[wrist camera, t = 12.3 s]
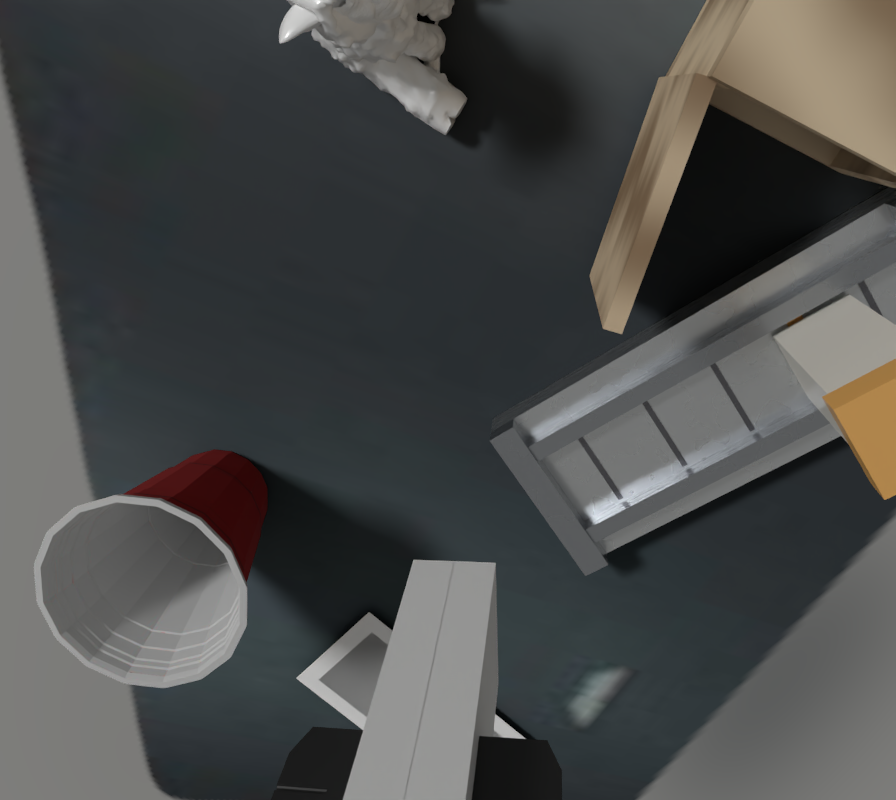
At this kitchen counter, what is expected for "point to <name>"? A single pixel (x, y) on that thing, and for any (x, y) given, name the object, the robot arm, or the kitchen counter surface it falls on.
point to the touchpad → (361, 673)
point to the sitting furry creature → (386, 49)
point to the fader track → (693, 394)
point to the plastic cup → (156, 572)
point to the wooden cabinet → (756, 112)
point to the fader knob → (851, 380)
